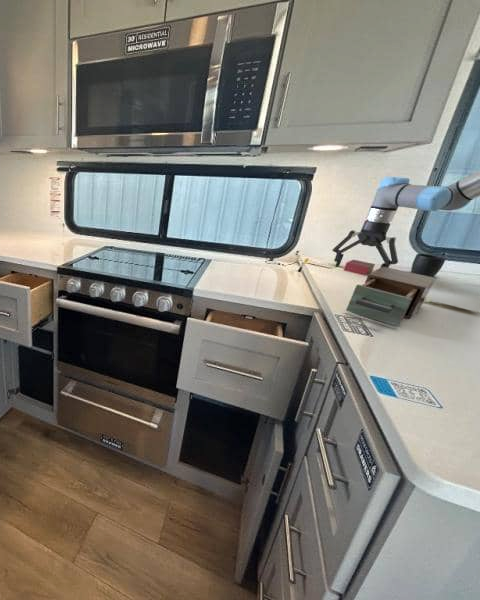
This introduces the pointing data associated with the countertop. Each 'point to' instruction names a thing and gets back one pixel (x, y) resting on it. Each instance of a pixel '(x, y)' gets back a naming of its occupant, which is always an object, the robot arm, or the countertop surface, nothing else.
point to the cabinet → (406, 284)
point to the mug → (427, 264)
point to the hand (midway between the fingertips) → (355, 274)
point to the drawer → (382, 301)
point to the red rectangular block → (359, 267)
